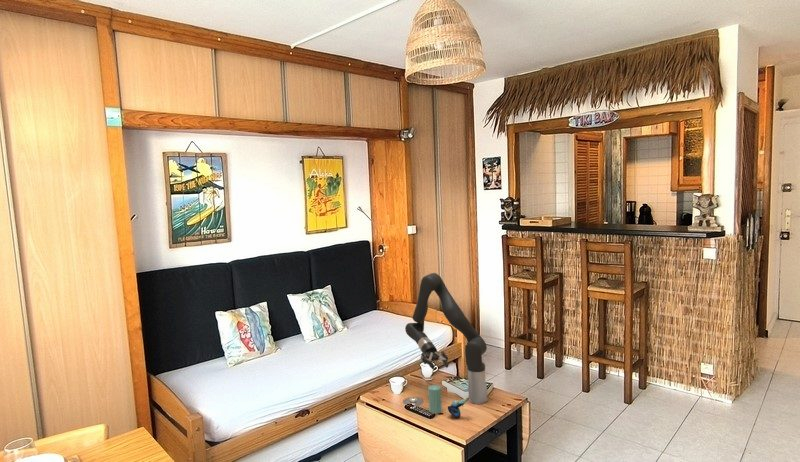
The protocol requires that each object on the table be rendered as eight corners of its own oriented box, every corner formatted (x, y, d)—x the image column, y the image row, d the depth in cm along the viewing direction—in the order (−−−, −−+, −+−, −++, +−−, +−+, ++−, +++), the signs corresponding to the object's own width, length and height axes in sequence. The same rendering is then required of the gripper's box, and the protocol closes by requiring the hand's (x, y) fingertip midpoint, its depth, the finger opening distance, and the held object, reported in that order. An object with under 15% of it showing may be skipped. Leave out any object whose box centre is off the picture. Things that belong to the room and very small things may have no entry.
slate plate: (422, 397, 267) (422, 396, 266) (424, 406, 256) (424, 405, 256) (402, 398, 266) (402, 397, 266) (404, 407, 255) (404, 406, 255)
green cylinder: (440, 408, 252) (439, 384, 251) (442, 414, 246) (441, 389, 244) (428, 409, 251) (427, 385, 250) (430, 415, 245) (429, 390, 244)
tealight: (416, 399, 263) (416, 395, 263) (417, 402, 259) (417, 398, 259) (409, 400, 262) (409, 396, 262) (410, 403, 258) (409, 399, 258)
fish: (467, 420, 238) (467, 400, 237) (447, 419, 240) (446, 399, 239) (468, 416, 242) (467, 396, 242) (448, 415, 244) (447, 395, 244)
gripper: (417, 342, 261) (430, 362, 248) (439, 340, 268) (454, 360, 254) (413, 353, 264) (427, 374, 251) (436, 351, 270) (450, 371, 257)
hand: (440, 367), depth 253 cm, fingers open, 8 cm apart
